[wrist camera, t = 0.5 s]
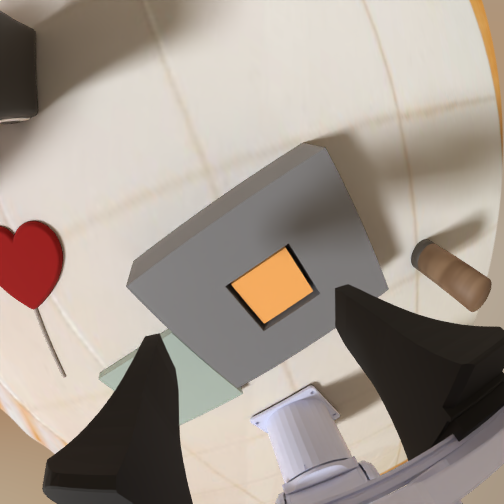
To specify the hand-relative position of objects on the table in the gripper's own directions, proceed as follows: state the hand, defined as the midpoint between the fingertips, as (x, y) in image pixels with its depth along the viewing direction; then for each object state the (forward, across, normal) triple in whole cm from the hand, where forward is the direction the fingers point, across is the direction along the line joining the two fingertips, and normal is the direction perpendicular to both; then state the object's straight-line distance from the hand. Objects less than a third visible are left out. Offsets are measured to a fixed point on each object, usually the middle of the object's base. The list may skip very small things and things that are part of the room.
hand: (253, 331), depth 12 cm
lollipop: (+11, +16, +2) cm, 20 cm away
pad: (+10, +8, +12) cm, 18 cm away
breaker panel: (+10, -2, +3) cm, 11 cm away
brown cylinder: (+10, -18, +6) cm, 21 cm away
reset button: (+8, -2, +3) cm, 9 cm away
